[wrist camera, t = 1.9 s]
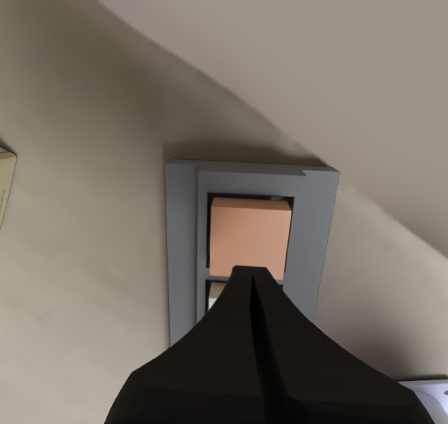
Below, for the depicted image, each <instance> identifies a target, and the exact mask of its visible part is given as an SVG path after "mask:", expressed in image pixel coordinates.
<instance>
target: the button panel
mask: <svg viewBox="0 0 448 424" xmlns="http://www.w3.org/2000/svg"><path fill="white" fill-rule="evenodd" d="M339 175H340V172H339V171H338V170H336V169H335V168H333V167H328V166H308V165H287V164H267V163H246V162H225V161H205V160H184V159H170V160H168V161H167V162H166V163H165V191H166V222H167V253H168V284H169V315H170V347H171V346H172V345H173V344H175V343H176V342H177V341H179V340H180V339H181V338H182V337H183V336H184V335H185V334H187V333H188V332H189V331H190V330H191V329H192V328H193V327H194V326H195V325H196V324H197V323H198V322H199V321H200V320H201V318H202V317H203V316H204V315H205V314H206V313H207V311H208V310H209V295H210V289H211V282H220V283H227V281H228V279H229V276H213V275H210V239H211V206H212V202H213V199H214V197H222V198H241V199H260V200H279V201H287V202H288V204H289V207H290V209H291V211H292V212H291V220H290V228H289V235H288V243H287V251H286V259H285V267H284V275H283V280H277V279H275V280H276V282H277V283H278V284H279V286H280V287H281V288H282V290H283V291H284V292H285V294H286V295H287V296H288V297H289V299H290V300H291V301H292V302H293V303H294V305H295V306H296V307H297V308H298V309H299V310H300V311H301V312H302V313H303V315H304V316H305V317H306V318H307V319H309V320H310V321H311V322H312V323H313V319H314V313H315V308H316V302H317V296H318V291H319V285H320V280H321V274H322V269H323V263H324V258H325V252H326V247H327V241H328V235H329V230H330V224H331V219H332V213H333V208H334V202H335V197H336V191H337V186H338V180H339Z"/></svg>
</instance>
